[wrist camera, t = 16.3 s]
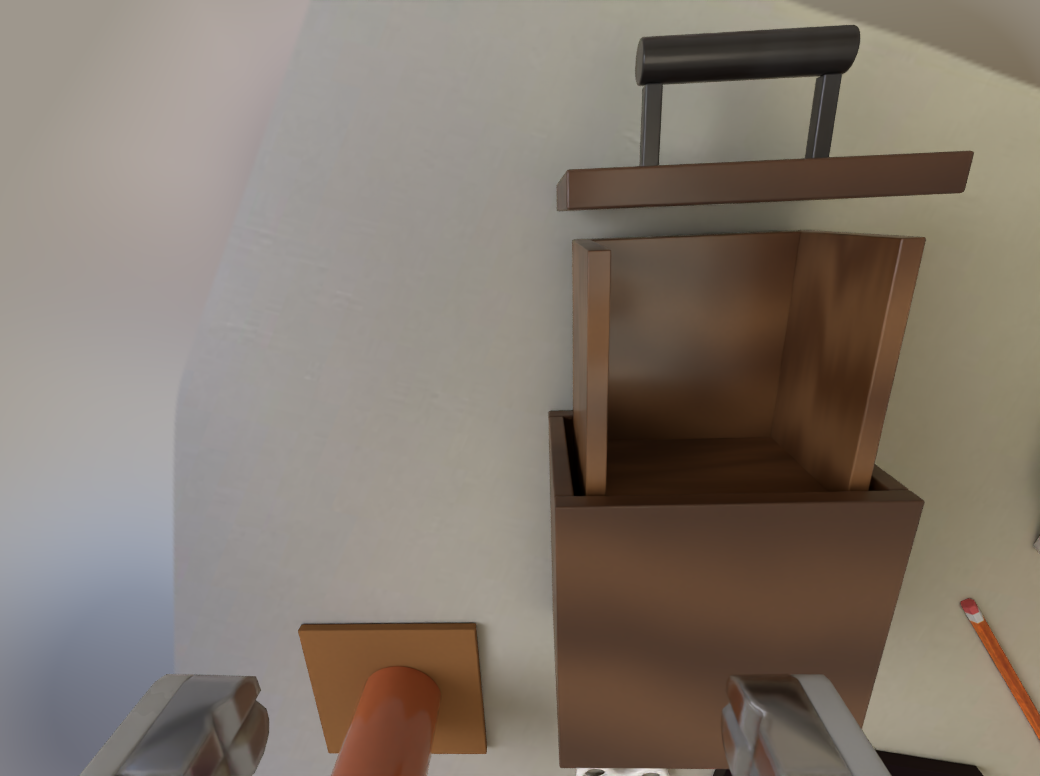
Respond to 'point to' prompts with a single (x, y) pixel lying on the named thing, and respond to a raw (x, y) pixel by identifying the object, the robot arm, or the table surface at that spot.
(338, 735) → the mat
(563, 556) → the cabinet
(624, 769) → the fidget spinner
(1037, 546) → the decorative bird
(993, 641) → the pencil
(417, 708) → the tumbler
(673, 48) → the drawer
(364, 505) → the table surface
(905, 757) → the dark display base
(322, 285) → the table surface
